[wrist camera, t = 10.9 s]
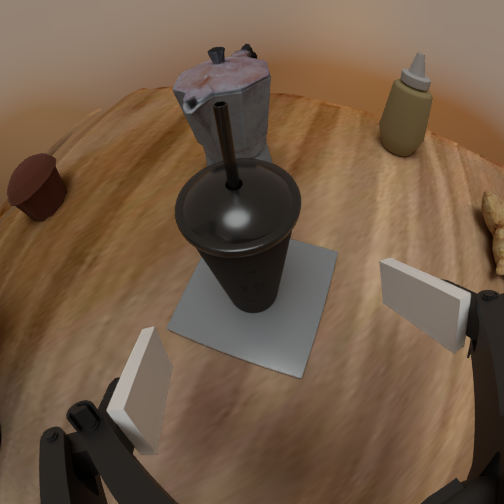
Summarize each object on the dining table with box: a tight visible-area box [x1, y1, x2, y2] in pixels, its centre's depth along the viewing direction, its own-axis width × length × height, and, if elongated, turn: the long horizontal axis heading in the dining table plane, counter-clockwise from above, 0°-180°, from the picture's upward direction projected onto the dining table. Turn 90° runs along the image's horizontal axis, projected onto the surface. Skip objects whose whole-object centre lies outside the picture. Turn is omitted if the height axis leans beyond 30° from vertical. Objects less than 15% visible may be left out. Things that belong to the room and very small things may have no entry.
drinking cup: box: [175, 101, 301, 313], centre depth 19 cm, size 8×8×20 cm
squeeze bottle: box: [379, 53, 432, 157], centre depth 33 cm, size 8×8×18 cm
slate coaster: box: [167, 239, 338, 379], centre depth 28 cm, size 14×14×1 cm
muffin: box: [7, 153, 67, 221], centre depth 36 cm, size 12×11×10 cm
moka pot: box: [173, 44, 272, 167], centre depth 28 cm, size 10×15×20 cm, turn 164°
